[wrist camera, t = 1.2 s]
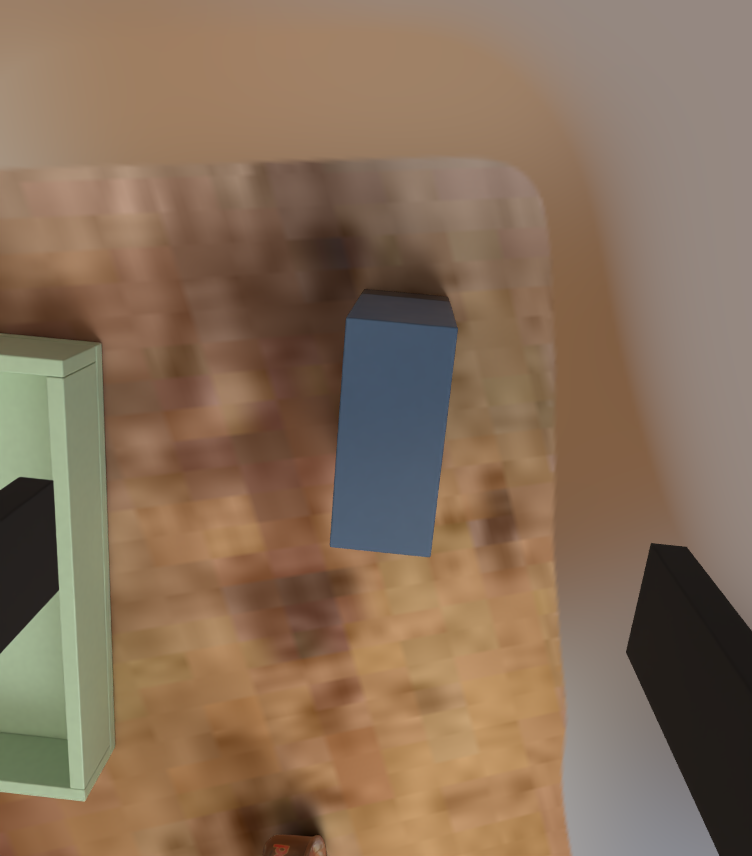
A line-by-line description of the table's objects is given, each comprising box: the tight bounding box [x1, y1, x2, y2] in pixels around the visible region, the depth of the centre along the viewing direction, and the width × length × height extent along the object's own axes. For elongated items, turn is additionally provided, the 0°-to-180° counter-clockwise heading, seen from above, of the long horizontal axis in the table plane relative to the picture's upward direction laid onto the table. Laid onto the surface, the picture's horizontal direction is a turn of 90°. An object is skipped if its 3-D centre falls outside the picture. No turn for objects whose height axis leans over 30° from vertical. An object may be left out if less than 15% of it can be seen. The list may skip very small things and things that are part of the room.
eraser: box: [330, 289, 458, 557], centre depth 27 cm, size 8×4×8 cm, turn 175°
